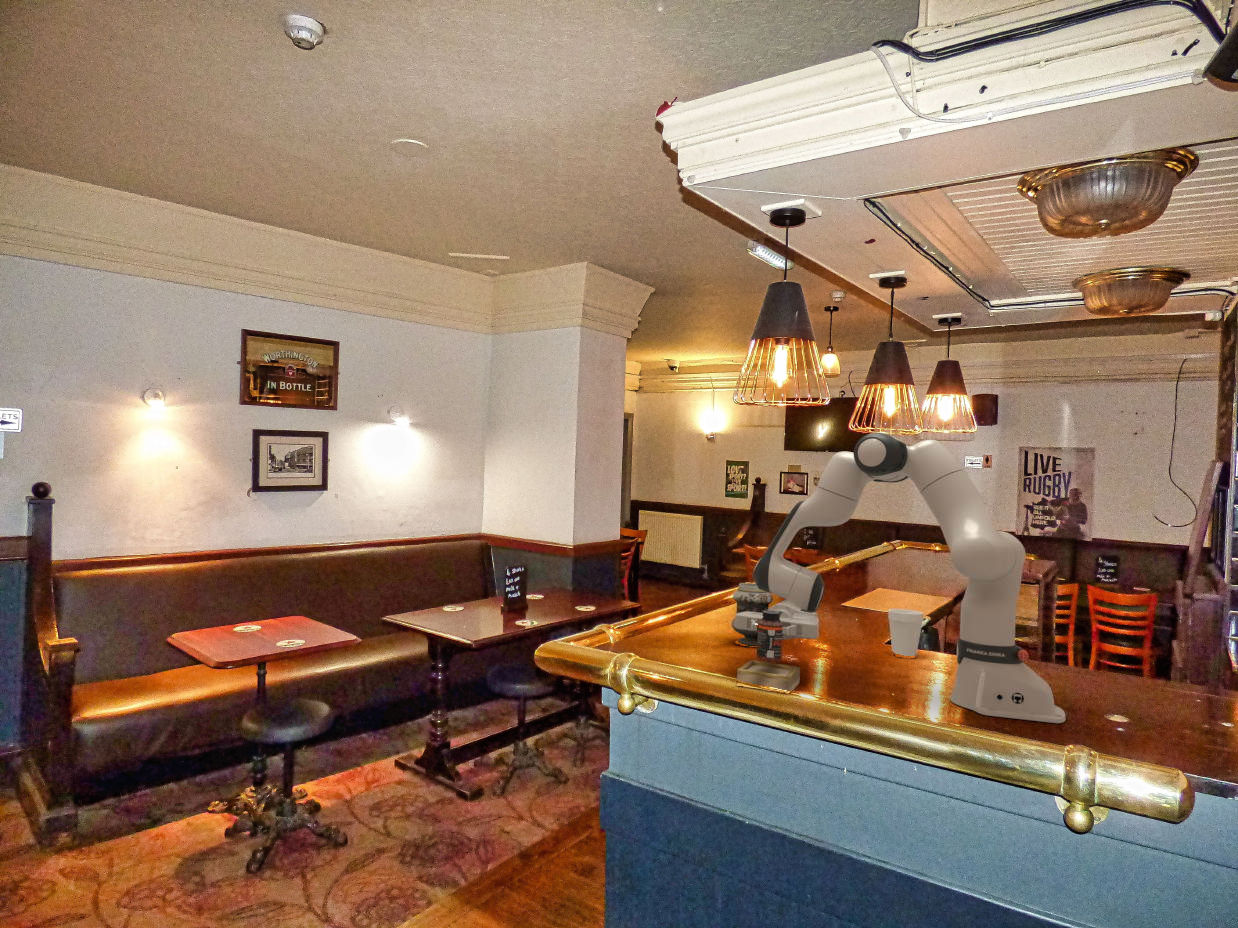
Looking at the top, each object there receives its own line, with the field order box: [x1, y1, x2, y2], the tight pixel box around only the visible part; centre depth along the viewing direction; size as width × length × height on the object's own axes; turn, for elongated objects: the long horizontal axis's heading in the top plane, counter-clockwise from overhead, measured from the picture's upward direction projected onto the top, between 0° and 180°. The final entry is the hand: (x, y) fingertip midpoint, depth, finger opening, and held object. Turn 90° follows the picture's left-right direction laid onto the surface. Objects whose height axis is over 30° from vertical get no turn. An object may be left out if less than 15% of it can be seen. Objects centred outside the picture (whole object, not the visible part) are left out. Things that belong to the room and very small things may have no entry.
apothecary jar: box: [731, 582, 774, 646], centre depth 219 cm, size 12×12×18 cm
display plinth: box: [736, 659, 801, 692], centre depth 173 cm, size 12×12×4 cm
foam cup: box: [887, 608, 924, 656], centre depth 213 cm, size 10×9×13 cm
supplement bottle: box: [756, 610, 784, 663], centre depth 173 cm, size 6×6×11 cm
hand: (769, 629), depth 172 cm, fingers closed on supplement bottle, 6 cm apart
